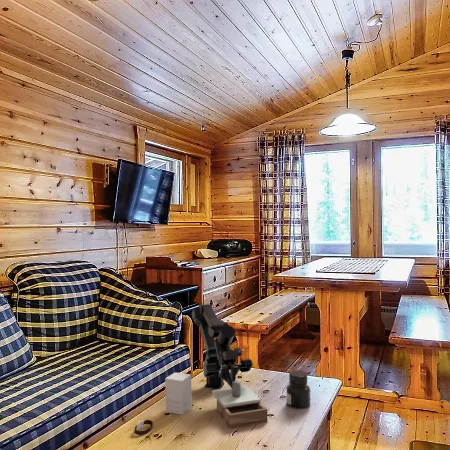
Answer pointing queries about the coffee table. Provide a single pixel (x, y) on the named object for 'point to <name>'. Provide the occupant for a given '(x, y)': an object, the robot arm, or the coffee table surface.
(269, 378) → the coffee table surface
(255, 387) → the coffee table surface
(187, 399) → the supplement box
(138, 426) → the watch
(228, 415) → the walnut box
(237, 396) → the box lid
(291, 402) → the ink bottle
